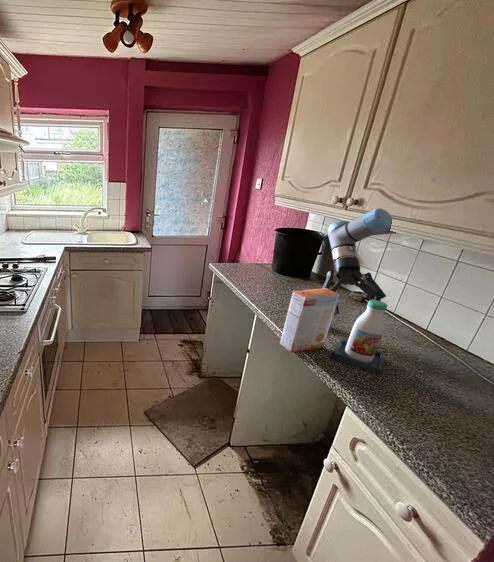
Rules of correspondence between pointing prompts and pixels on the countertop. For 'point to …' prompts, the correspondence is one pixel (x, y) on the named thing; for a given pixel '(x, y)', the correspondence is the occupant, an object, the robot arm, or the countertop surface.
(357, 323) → the milk bottle
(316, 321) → the cracker box
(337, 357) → the tray
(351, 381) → the countertop surface
